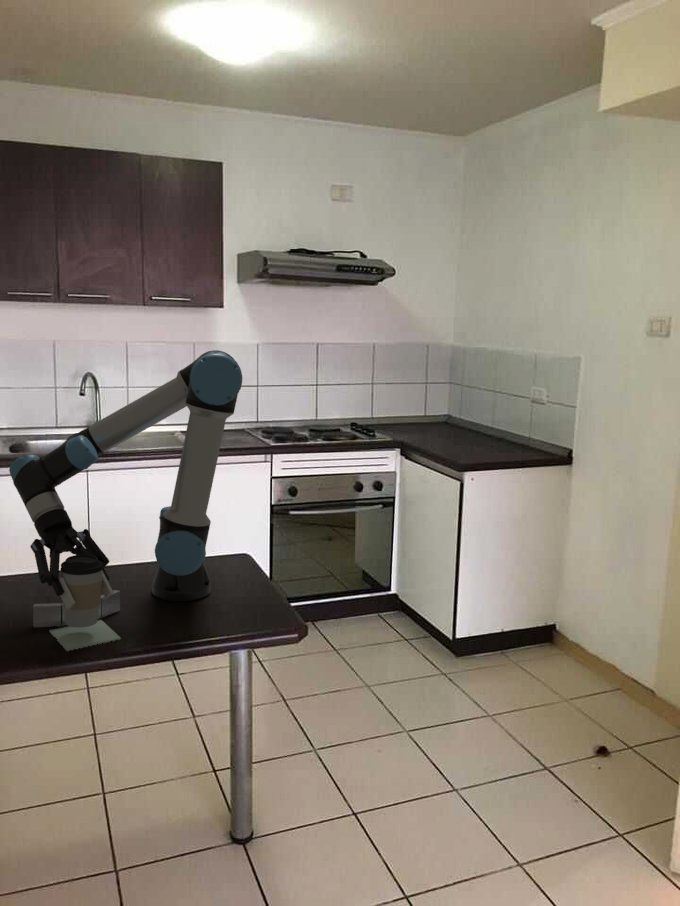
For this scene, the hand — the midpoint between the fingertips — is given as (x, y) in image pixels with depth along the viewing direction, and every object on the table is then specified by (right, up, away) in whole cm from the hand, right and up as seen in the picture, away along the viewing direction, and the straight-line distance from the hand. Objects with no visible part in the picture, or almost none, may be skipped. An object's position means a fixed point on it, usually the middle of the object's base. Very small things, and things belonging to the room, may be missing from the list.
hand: (90, 600), depth 169 cm
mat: (-2, -9, +4) cm, 10 cm away
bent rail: (-7, -7, +12) cm, 16 cm away
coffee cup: (-3, -5, +3) cm, 7 cm away
